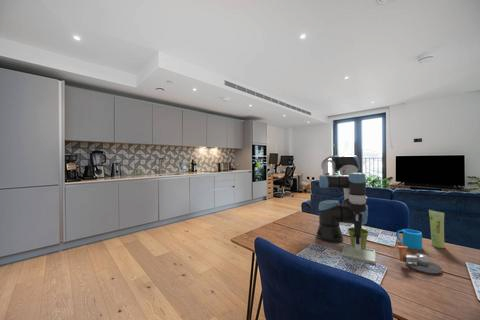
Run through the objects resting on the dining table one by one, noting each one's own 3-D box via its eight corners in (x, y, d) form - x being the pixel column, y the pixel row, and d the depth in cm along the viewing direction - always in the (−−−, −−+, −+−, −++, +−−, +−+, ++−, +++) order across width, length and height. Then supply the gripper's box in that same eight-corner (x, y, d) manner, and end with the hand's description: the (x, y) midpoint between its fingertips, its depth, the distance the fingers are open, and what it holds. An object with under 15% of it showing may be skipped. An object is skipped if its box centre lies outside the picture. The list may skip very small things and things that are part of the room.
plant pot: (362, 253, 93) (361, 235, 93) (344, 245, 101) (343, 229, 101) (373, 248, 97) (372, 231, 97) (354, 242, 105) (354, 226, 105)
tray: (341, 256, 97) (341, 253, 97) (345, 246, 109) (344, 243, 109) (375, 264, 89) (375, 261, 89) (375, 252, 101) (375, 249, 101)
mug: (425, 247, 105) (425, 232, 105) (417, 250, 102) (416, 235, 102) (400, 239, 116) (400, 226, 116) (392, 242, 113) (391, 228, 113)
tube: (430, 246, 107) (429, 211, 107) (429, 243, 110) (428, 209, 111) (445, 249, 103) (444, 212, 103) (443, 245, 107) (442, 210, 107)
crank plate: (407, 269, 85) (406, 265, 85) (403, 257, 95) (403, 254, 95) (445, 278, 78) (445, 274, 78) (437, 264, 88) (437, 261, 88)
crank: (423, 261, 89) (423, 245, 89) (432, 266, 84) (431, 249, 84) (395, 260, 90) (394, 244, 90) (401, 265, 86) (401, 248, 86)
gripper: (365, 207, 89) (366, 257, 88) (366, 199, 106) (367, 241, 105) (346, 205, 93) (348, 253, 93) (351, 198, 110) (352, 238, 110)
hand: (358, 246), depth 99 cm, fingers closed on plant pot, 8 cm apart
